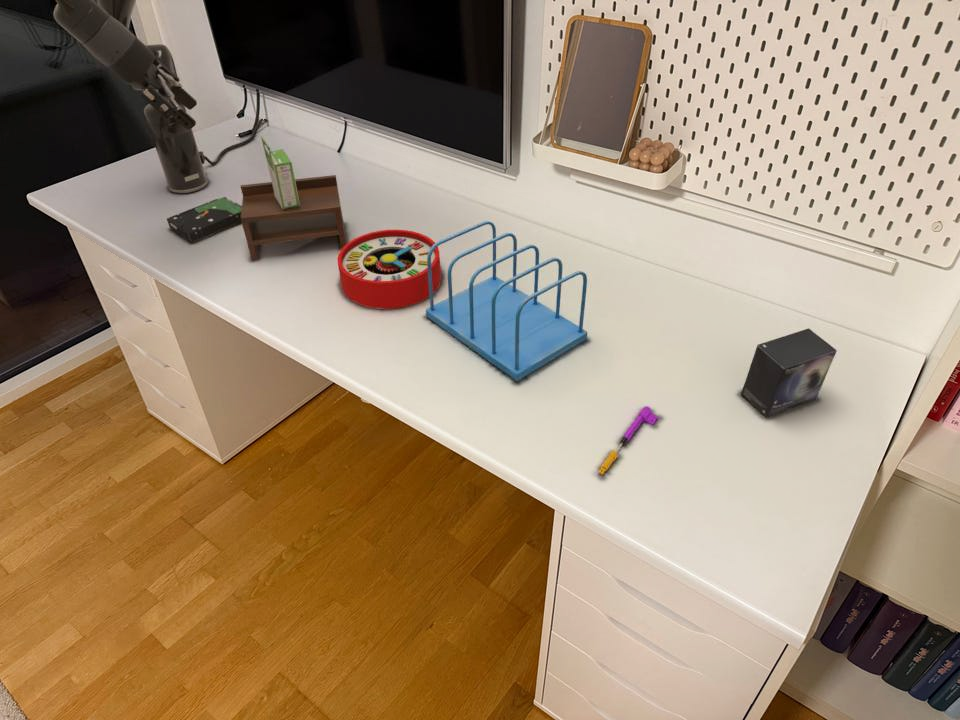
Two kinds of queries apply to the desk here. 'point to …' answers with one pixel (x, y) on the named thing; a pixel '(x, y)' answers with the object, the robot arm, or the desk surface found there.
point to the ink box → (282, 177)
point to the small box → (787, 372)
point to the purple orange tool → (642, 416)
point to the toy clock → (388, 269)
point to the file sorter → (506, 314)
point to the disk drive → (206, 219)
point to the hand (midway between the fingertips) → (193, 116)
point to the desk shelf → (292, 213)
